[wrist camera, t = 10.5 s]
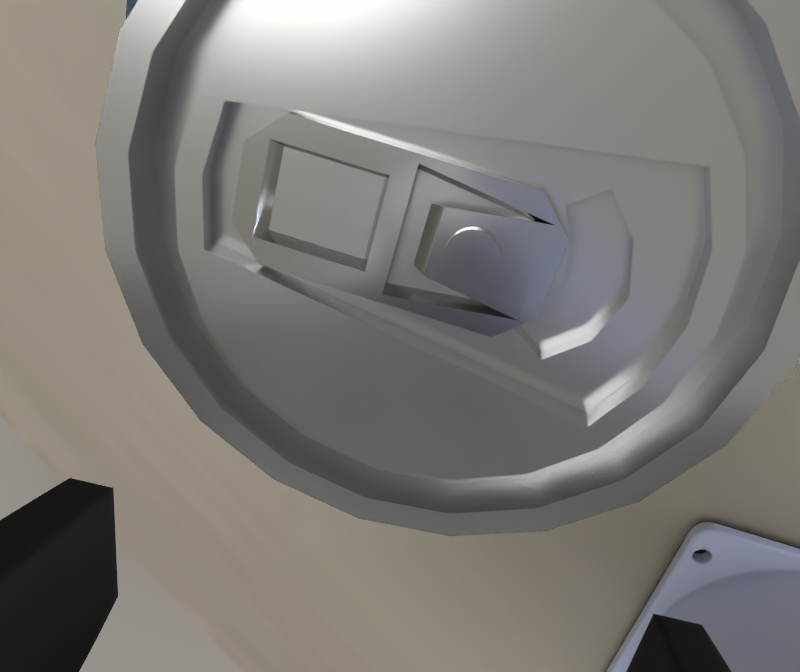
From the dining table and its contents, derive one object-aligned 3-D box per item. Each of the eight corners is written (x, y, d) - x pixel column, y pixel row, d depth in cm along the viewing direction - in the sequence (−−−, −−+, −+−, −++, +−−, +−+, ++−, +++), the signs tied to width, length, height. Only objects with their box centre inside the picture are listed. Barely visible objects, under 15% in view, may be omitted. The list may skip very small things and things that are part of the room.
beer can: (354, 153, 17) (54, 442, 6) (414, -107, 14) (79, -397, 4) (572, 220, 17) (659, 635, 6) (672, -29, 14) (1133, -89, 3)
